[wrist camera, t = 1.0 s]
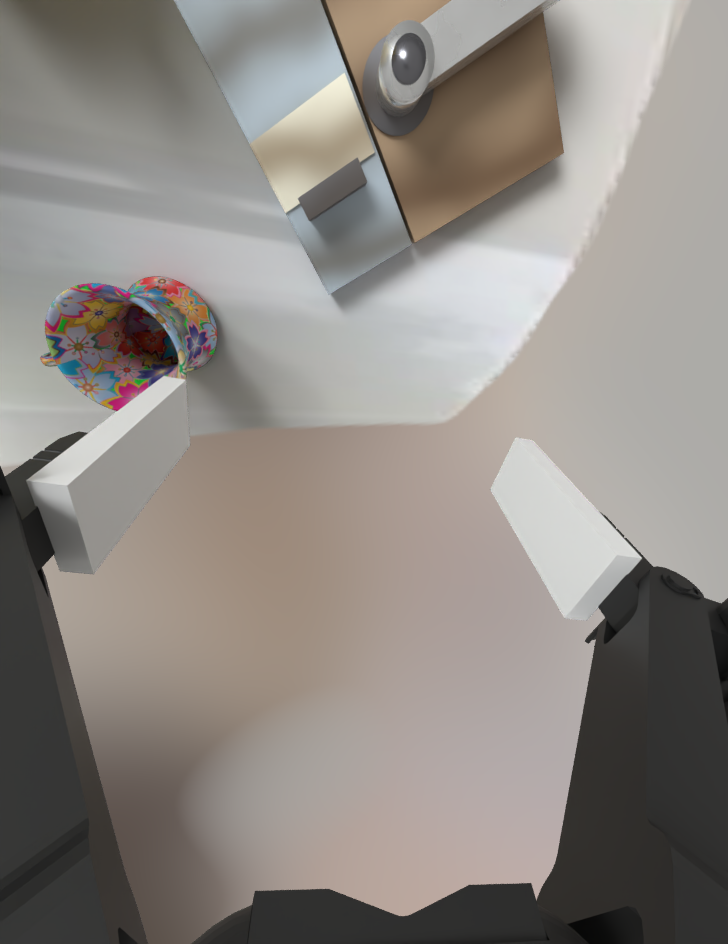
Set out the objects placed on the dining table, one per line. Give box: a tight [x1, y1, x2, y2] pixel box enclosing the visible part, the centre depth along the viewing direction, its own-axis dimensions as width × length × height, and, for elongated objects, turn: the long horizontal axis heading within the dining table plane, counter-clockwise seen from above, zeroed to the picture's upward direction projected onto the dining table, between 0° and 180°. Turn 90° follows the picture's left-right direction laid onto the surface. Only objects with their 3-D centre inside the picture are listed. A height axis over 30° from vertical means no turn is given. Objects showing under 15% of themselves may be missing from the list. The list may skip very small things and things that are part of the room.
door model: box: [174, 0, 564, 295], centre depth 25 cm, size 19×21×4 cm
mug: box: [40, 277, 217, 411], centre depth 30 cm, size 12×9×11 cm
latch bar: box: [376, 0, 560, 117], centre depth 22 cm, size 13×3×4 cm, turn 118°
